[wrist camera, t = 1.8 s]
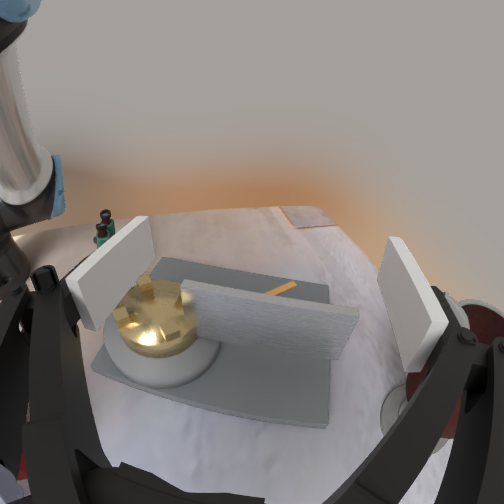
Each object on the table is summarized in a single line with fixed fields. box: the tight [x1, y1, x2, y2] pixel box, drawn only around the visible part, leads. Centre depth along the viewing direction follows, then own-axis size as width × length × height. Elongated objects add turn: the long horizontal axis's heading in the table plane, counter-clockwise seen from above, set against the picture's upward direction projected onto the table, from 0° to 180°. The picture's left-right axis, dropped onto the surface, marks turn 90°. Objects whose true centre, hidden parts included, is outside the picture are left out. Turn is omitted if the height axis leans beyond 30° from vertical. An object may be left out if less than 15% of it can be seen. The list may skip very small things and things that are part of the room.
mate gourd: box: [380, 292, 504, 456], centre depth 23 cm, size 16×14×20 cm
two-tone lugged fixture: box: [112, 274, 359, 360], centre depth 32 cm, size 28×11×8 cm, turn 80°
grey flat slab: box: [91, 257, 330, 428], centre depth 40 cm, size 31×26×4 cm
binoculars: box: [93, 210, 115, 249], centre depth 49 cm, size 9×11×10 cm
